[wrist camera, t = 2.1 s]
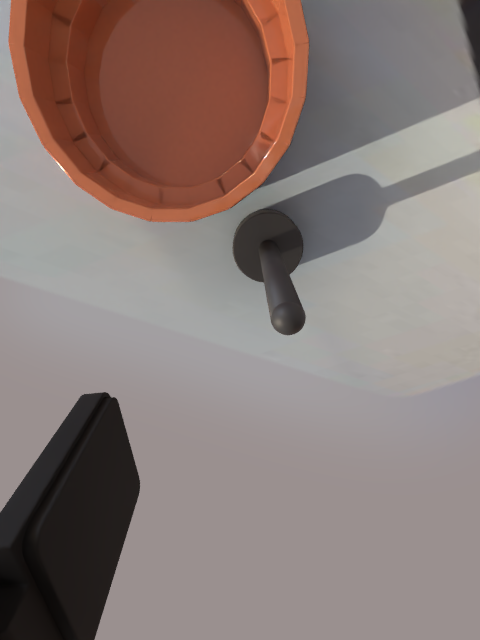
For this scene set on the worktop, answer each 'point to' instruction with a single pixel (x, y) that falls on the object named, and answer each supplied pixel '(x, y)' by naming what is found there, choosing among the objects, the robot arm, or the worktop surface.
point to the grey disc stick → (272, 263)
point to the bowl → (162, 96)
